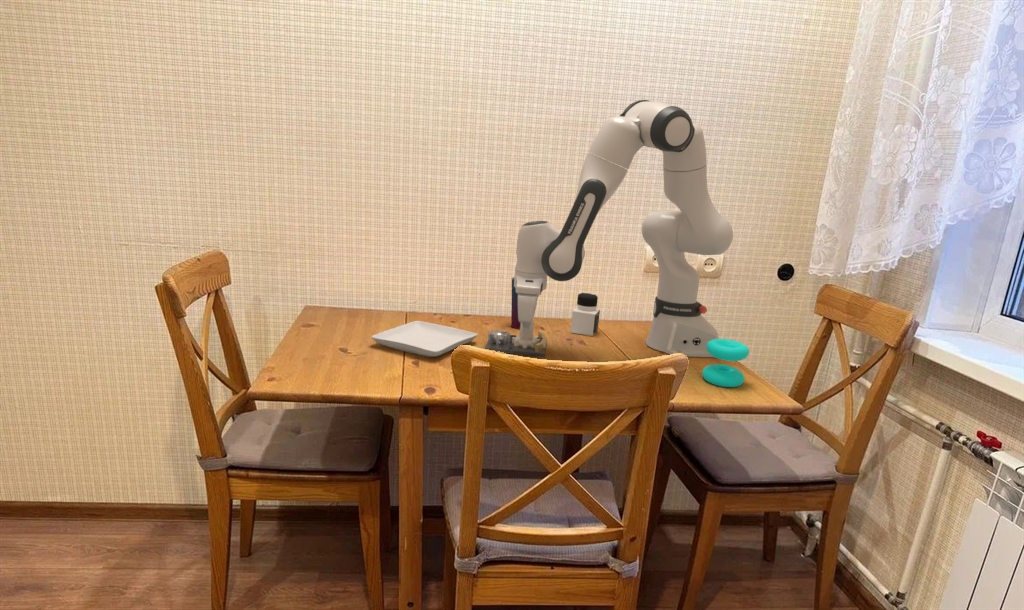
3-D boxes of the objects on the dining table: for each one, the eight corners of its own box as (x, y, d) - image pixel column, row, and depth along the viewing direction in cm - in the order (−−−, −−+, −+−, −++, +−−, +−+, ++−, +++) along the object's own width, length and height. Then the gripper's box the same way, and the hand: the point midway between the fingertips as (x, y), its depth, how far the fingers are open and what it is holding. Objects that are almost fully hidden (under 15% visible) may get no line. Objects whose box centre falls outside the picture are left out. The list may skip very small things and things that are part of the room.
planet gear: (540, 341, 170) (541, 320, 168) (538, 349, 162) (540, 327, 161) (513, 338, 170) (515, 318, 169) (510, 346, 163) (512, 325, 161)
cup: (531, 324, 189) (534, 277, 185) (529, 330, 183) (533, 282, 179) (509, 322, 190) (512, 276, 186) (507, 328, 183) (510, 280, 179)
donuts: (739, 338, 153) (757, 350, 144) (733, 375, 156) (750, 390, 146) (701, 336, 153) (716, 348, 143) (695, 373, 155) (710, 388, 146)
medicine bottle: (593, 336, 181) (597, 297, 178) (570, 332, 183) (573, 294, 180) (597, 330, 188) (601, 293, 185) (575, 327, 190) (579, 290, 187)
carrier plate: (546, 341, 173) (547, 330, 172) (543, 357, 159) (545, 344, 158) (491, 336, 174) (492, 324, 173) (484, 351, 161) (484, 338, 160)
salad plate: (416, 329, 177) (416, 318, 176) (478, 344, 168) (479, 332, 167) (368, 347, 158) (368, 335, 157) (436, 364, 149) (437, 351, 148)
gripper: (522, 272, 172) (518, 319, 176) (515, 287, 152) (511, 339, 156) (544, 274, 172) (540, 321, 175) (540, 290, 152) (535, 342, 155)
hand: (526, 330), depth 165 cm, fingers open, 4 cm apart
